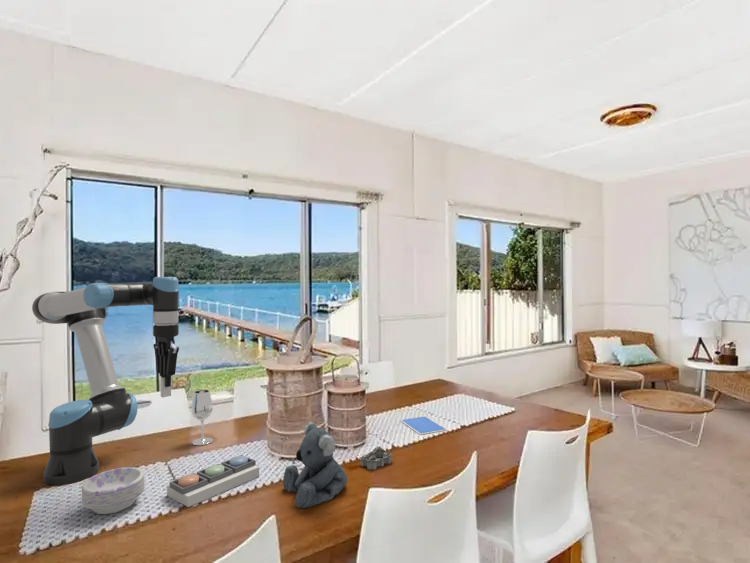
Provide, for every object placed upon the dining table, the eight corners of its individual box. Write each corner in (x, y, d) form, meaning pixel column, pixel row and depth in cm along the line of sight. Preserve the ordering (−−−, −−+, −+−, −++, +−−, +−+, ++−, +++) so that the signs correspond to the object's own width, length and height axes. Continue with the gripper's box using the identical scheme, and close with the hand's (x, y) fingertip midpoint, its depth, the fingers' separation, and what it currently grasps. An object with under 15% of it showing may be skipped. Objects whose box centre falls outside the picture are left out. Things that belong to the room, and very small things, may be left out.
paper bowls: (99, 526, 113) (99, 495, 113) (71, 511, 121) (71, 482, 121) (155, 500, 126) (155, 473, 126) (127, 488, 134) (126, 462, 134)
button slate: (236, 470, 138) (236, 464, 138) (226, 465, 141) (225, 460, 141) (251, 464, 142) (251, 458, 142) (240, 460, 146) (240, 454, 146)
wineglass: (208, 445, 169) (207, 393, 169) (188, 445, 169) (187, 394, 169) (216, 438, 176) (215, 388, 176) (197, 438, 177) (196, 389, 177)
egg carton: (381, 456, 155) (380, 445, 155) (395, 463, 149) (394, 451, 149) (357, 464, 149) (356, 452, 149) (370, 472, 143) (370, 459, 143)
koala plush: (280, 487, 133) (278, 423, 133) (334, 473, 142) (333, 413, 142) (299, 513, 118) (297, 440, 118) (358, 496, 126) (357, 428, 126)
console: (187, 507, 122) (186, 491, 122) (166, 495, 129) (165, 480, 129) (259, 475, 141) (259, 462, 141) (238, 466, 148) (237, 453, 148)
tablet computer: (447, 432, 180) (447, 428, 180) (420, 436, 175) (420, 433, 175) (425, 418, 198) (425, 416, 198) (400, 422, 193) (400, 419, 193)
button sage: (211, 480, 131) (211, 474, 131) (201, 475, 134) (201, 469, 134) (228, 473, 135) (227, 467, 135) (217, 468, 139) (217, 463, 139)
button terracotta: (184, 491, 124) (184, 484, 124) (174, 485, 128) (174, 479, 128) (202, 483, 129) (202, 477, 129) (192, 478, 132) (192, 472, 132)
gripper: (187, 324, 141) (187, 397, 141) (168, 321, 149) (168, 390, 149) (163, 326, 135) (163, 402, 135) (145, 323, 143) (145, 395, 144)
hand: (165, 396), depth 142 cm, fingers closed
